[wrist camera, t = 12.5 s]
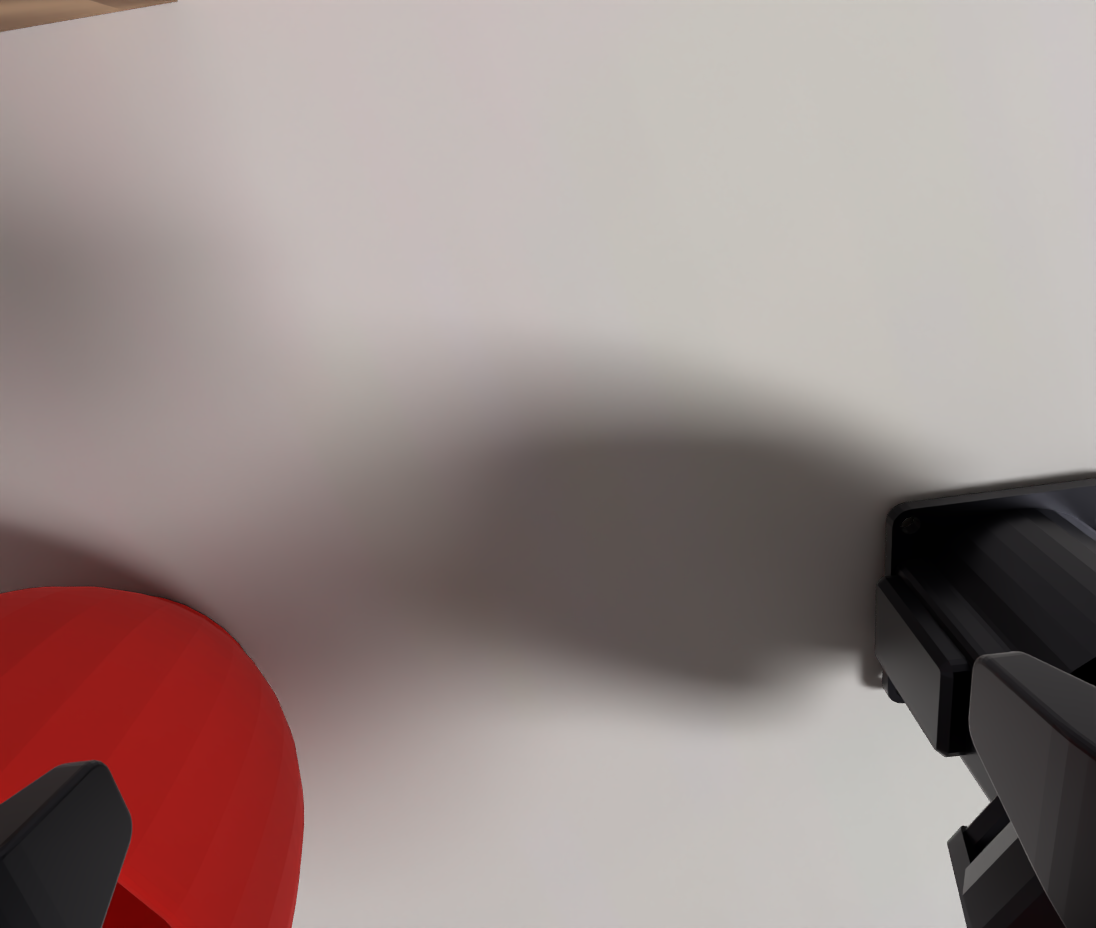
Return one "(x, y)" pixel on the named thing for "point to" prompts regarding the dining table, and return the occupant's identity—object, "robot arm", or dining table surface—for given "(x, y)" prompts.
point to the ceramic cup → (159, 749)
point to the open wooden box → (61, 10)
